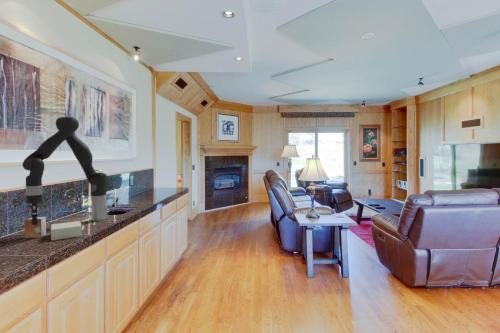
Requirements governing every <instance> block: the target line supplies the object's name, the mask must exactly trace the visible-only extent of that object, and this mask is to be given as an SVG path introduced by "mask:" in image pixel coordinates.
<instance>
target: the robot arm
mask: <svg viewBox="0 0 500 333" xmlns="http://www.w3.org/2000/svg"><path fill="white" fill-rule="evenodd" d="M79 123H80V122H79V120H78V118H76V117H73V116H60V117H58V118H56V121H55V127H56V128H57V130H58V131H57V132H55V133H54V134H53V135H51V136H50V137H48V138H47V139H45V140H44V141H43V142H42V143H41V144H40V145H39V146H38V147H37V149H36V150H34V151H33V152H31V153H30V154H29V155H28V156H27V157H26V158H25V159H24V160H23V162H22V167H23V168H22V169H24V170H25V171H28V172H29V174H28V175H27V176H26V177H25V203H26V204H31V205H30V206H29V210H30V211H29V212H30V218H32V225H35V224H37V217H39V216H38V214H39V212H40V211H39V210H40V205H39V203H43V202H44V196H43V195H44V192H43V191H44V190H43V176H44V171H45V162H44V160H47V159H48V158H50V157H51V156H52V154H54V152H55V151H56V150H57V149H58V147H59V146H60V145H61V144H62V143H63V142H64V141H66V143H67V144H68V146H69V148H70V149H71V151H72V153H73V155H74V157H75V158H76V160H77V162H78V163H79V165H80V167H81V169H82V170H83V173H84V175H85V177H86V180H87V182H88V183H89V184H90V185H91V186H96V187H95V189H94V190H92V191H91V193H90V196H91V198H90V200H91V221H94V222H98V221H105V220H108V206H107V192H108V176H107V174H106V173H105V172H96V170H95V169H94V167H93V153H92V152H91V150H90V148H89V147H88V145H87V144H86V143H85V142H84V141H83V140H82V139H80V138H79V137H78V135H76V133H75V132H77V130H78V129H79V127H80V124H79Z"/></svg>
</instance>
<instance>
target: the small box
mask: <svg viewBox="0 0 500 333" xmlns="http://www.w3.org/2000/svg"><path fill="white" fill-rule="evenodd" d="M46 217H47V216H38V217H37V224H35V225H32V217H28V218H26V219H24V239H37V238H41V239H42V238H43V237H44V236H46V235H47V226H46V224H47V222H46Z"/></svg>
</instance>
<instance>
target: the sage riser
mask: <svg viewBox="0 0 500 333" xmlns="http://www.w3.org/2000/svg"><path fill="white" fill-rule="evenodd" d="M82 228H83V227H82V222H81V220H78V221H77V220H76V221H69V222H61V223H53V224H51V226H50V237H51V238H50V240H51V241H56V240H62V239H71V238H77V237H83V229H82Z"/></svg>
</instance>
